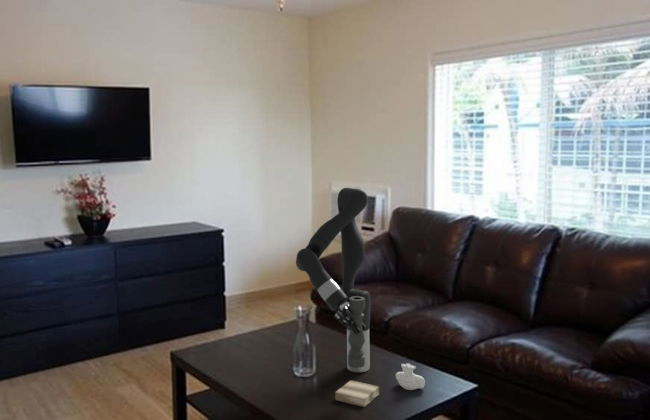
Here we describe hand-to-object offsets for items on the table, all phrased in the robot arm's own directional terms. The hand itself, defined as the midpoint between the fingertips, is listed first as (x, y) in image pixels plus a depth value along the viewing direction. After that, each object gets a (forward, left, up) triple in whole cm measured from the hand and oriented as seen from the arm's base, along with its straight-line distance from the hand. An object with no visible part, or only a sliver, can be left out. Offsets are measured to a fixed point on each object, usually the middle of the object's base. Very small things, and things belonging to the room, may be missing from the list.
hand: (361, 331), depth 215 cm
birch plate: (-1, -2, -26) cm, 26 cm away
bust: (-17, +12, -26) cm, 33 cm away
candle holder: (0, -2, -13) cm, 13 cm away
